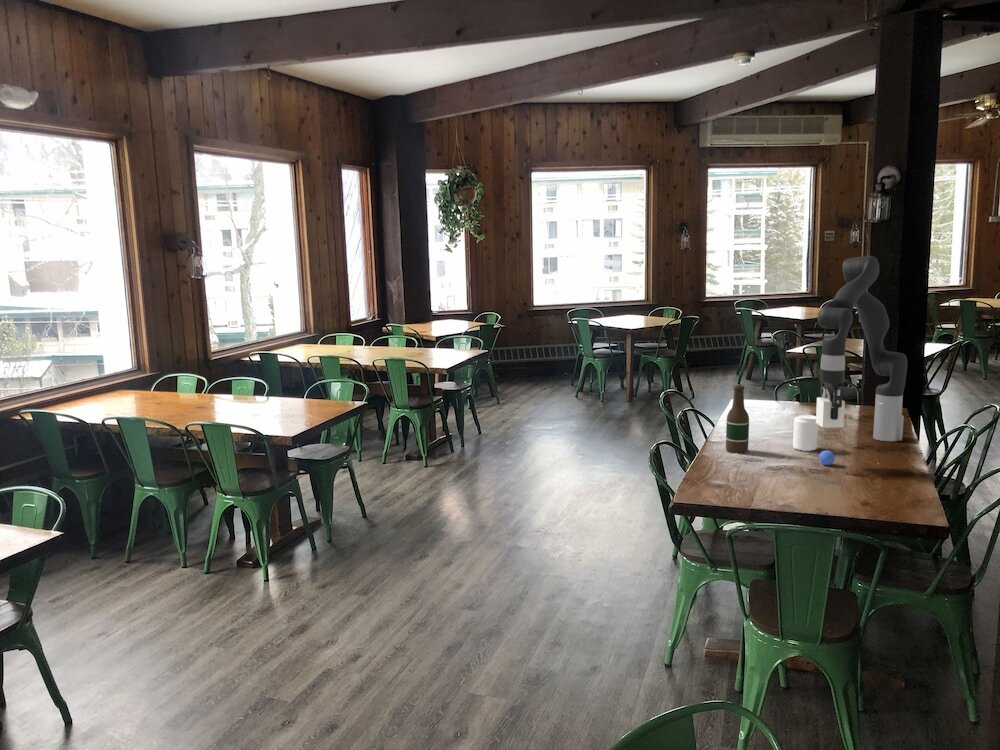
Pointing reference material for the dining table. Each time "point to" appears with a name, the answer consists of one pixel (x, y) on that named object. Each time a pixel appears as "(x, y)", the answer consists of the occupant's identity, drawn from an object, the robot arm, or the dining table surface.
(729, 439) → the beer bottle
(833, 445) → the dining table surface
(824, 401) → the white matte cube
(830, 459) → the ball
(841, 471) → the dining table surface
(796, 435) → the beverage can
